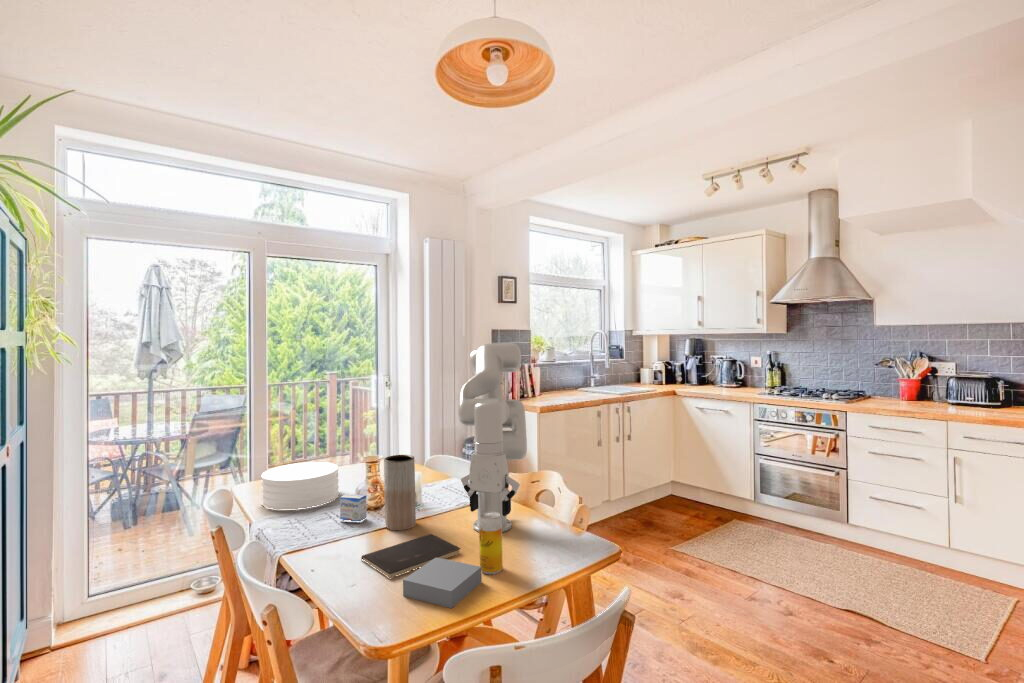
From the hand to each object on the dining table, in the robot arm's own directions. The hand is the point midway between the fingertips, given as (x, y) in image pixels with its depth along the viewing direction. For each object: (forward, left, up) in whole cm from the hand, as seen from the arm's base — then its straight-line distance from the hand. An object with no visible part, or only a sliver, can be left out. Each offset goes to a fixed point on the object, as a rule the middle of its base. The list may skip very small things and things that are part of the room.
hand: (490, 512), depth 140 cm
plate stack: (-25, -99, -16) cm, 103 cm away
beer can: (-1, 0, -16) cm, 16 cm away
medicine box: (-15, -62, -16) cm, 66 cm away
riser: (+13, -6, -16) cm, 22 cm away
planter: (-18, -44, -16) cm, 50 cm away
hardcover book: (+1, -25, -17) cm, 30 cm away
